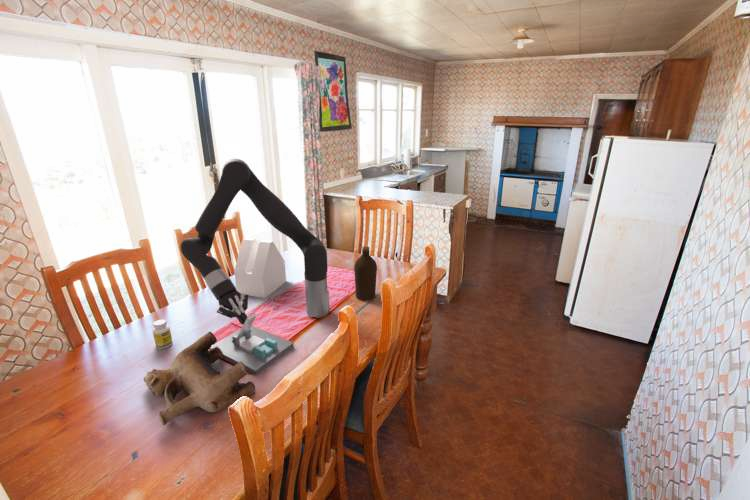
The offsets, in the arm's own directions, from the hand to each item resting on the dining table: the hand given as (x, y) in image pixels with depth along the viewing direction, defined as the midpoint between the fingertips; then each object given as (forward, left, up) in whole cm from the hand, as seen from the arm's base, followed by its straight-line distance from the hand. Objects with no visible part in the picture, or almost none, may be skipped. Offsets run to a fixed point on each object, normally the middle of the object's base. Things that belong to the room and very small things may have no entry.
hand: (246, 323), depth 128 cm
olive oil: (-57, +15, -11) cm, 60 cm away
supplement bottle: (+15, -29, -11) cm, 34 cm away
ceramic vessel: (+24, +4, -11) cm, 27 cm away
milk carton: (-38, -34, -11) cm, 52 cm away
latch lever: (0, -4, -7) cm, 7 cm away
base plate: (0, +1, -11) cm, 11 cm away
